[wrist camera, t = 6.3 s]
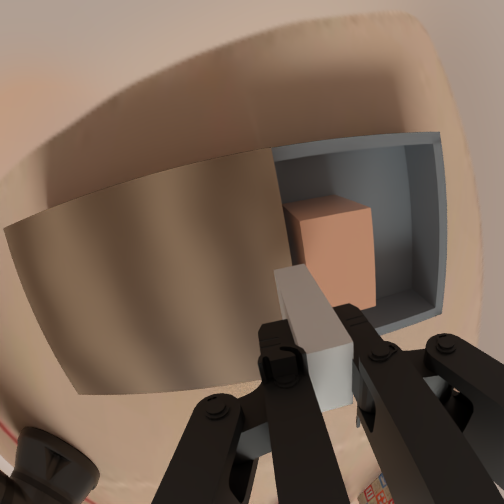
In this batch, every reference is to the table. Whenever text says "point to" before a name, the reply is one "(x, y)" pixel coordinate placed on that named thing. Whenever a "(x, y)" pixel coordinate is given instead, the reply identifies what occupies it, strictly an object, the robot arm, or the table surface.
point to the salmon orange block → (334, 247)
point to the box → (384, 212)
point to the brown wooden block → (159, 276)
